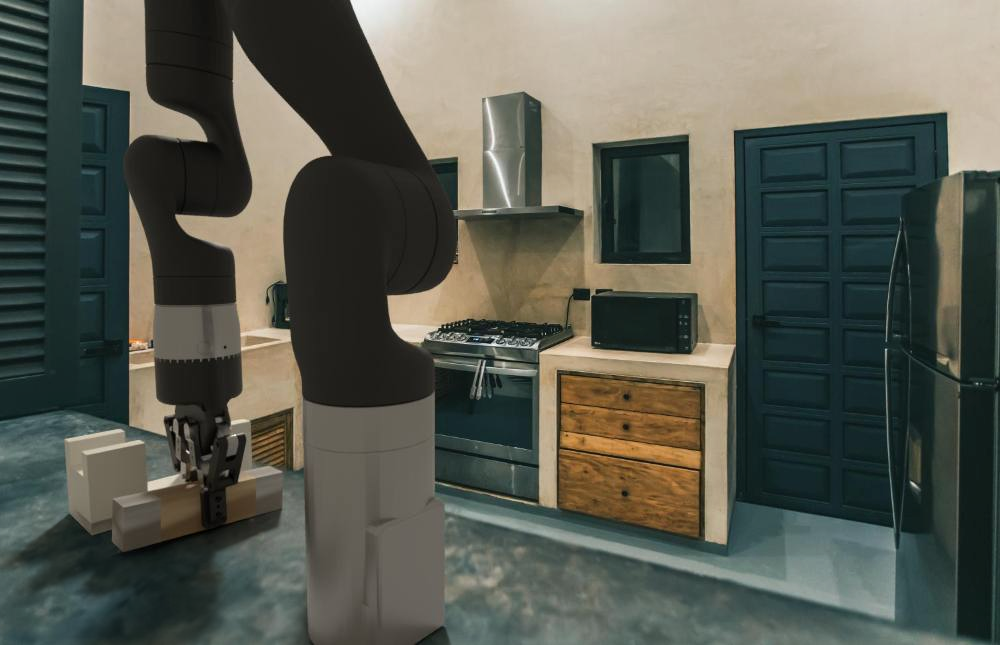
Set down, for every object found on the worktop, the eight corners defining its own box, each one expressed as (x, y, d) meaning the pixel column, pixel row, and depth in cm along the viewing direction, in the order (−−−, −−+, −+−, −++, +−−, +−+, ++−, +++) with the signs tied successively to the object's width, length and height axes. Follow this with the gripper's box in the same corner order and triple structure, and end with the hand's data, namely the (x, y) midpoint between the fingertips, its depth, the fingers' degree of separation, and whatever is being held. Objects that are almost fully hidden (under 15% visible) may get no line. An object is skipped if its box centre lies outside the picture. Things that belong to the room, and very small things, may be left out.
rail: (282, 508, 62) (283, 472, 62) (123, 552, 50) (123, 507, 50) (268, 501, 64) (269, 465, 63) (112, 541, 52) (112, 498, 52)
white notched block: (252, 487, 67) (250, 421, 66) (91, 535, 55) (86, 455, 54) (223, 472, 72) (221, 410, 71) (69, 513, 60) (64, 439, 59)
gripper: (272, 353, 54) (278, 528, 55) (207, 340, 63) (214, 491, 64) (187, 363, 48) (197, 558, 50) (129, 347, 57) (139, 513, 59)
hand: (206, 520), depth 57 cm, fingers closed on rail, 2 cm apart
